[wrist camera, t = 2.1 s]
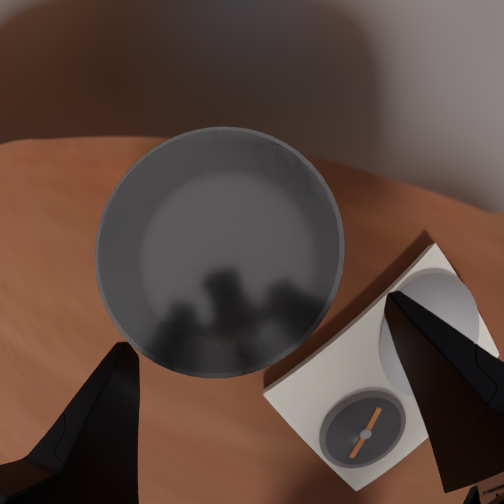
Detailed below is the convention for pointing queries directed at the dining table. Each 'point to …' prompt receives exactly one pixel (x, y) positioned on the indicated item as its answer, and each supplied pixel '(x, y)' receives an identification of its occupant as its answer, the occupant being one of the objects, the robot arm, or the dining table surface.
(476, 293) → the dining table surface
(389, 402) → the dial scale
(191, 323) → the metal tumbler
